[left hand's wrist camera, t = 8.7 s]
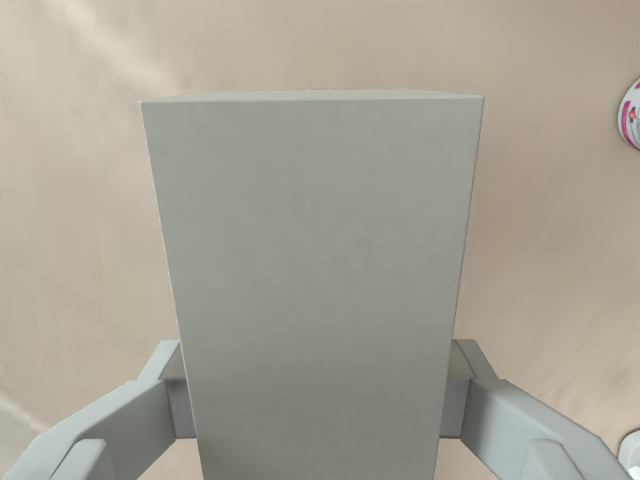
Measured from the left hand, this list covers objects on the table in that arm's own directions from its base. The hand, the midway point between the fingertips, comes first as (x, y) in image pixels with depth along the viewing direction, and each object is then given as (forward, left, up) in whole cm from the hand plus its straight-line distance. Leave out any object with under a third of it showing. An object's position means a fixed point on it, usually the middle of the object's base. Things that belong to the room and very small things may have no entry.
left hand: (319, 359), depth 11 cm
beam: (+3, -27, -3) cm, 27 cm away
